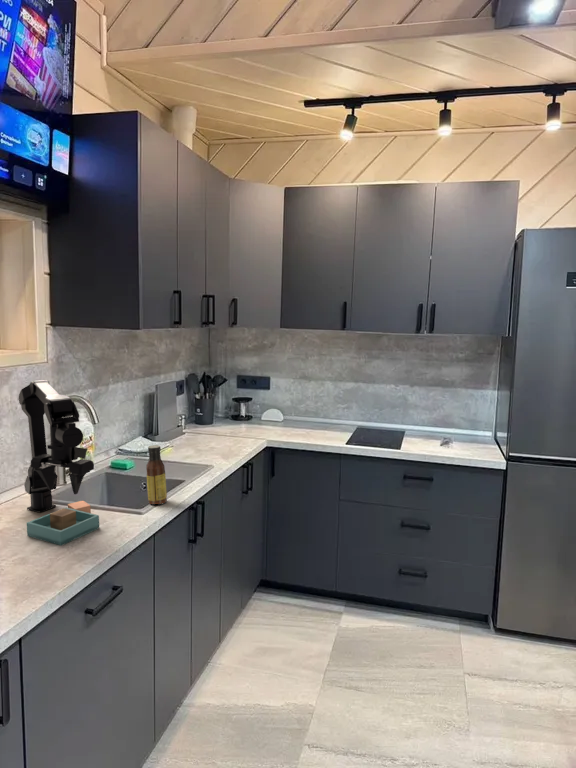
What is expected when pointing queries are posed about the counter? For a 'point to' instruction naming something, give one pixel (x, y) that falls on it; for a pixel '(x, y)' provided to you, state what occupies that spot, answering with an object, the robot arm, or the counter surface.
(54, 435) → the robot arm
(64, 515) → the walnut block
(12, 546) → the counter surface
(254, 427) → the counter surface
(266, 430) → the counter surface
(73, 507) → the terracotta carton
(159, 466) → the sauce bottle
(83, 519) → the tote
